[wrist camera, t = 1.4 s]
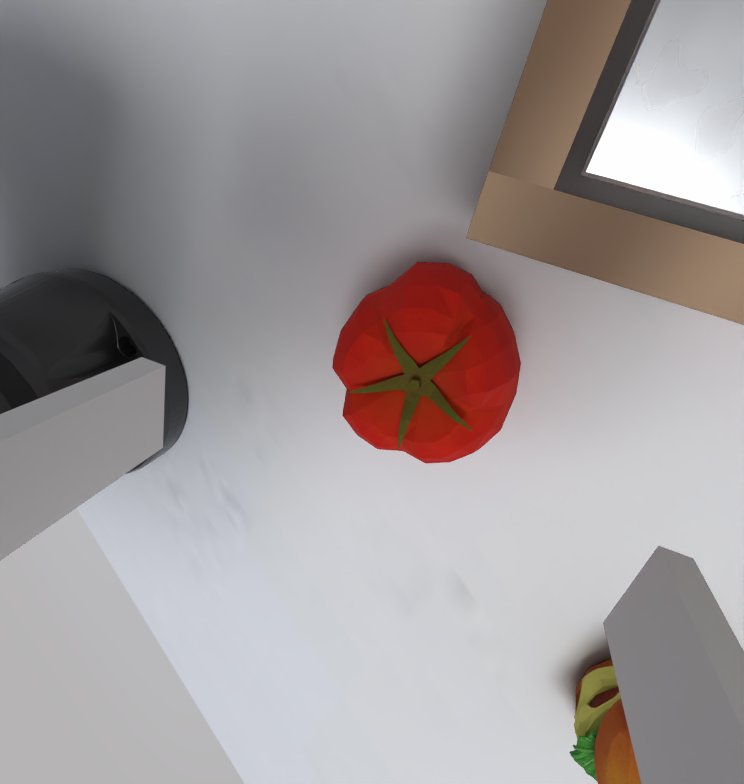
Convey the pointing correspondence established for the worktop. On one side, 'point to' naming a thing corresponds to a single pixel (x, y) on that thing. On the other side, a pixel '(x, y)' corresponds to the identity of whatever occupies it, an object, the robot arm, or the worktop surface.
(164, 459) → the worktop surface
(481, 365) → the tomato
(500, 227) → the frame
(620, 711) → the cheeseburger
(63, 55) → the worktop surface
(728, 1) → the trapdoor
